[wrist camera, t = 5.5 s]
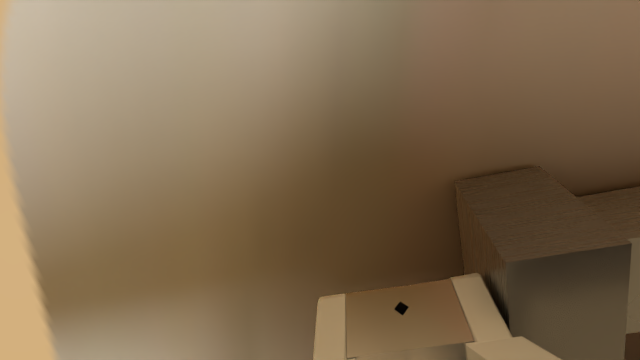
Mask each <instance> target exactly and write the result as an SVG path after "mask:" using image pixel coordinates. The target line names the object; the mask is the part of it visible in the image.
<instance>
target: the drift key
mask: <svg viewBox="0 0 640 360" xmlns="http://www.w3.org/2000/svg"><path fill="white" fill-rule="evenodd" d="M454 184H455V193H456V202H457V211H458V220H459V230H460V239H461V248H462V257H463V266H464V275H467V274H472V273H478V274H480V275H481V277H482V279H483V281H484V282H485V284H486V286H487V288H488V290H489V292H490V294H491V296H492V298H493V300H494V302H495V304H496V306H497V308H498V310H499V312H500V314H501V316H502V318H503V320H504V321H505V323H506V325H507V327H508V329H509V331H510V333H511V335H512V337H520V336H523V337H524V338H526V339H528V340H529V341H531V342H533V343H534V344H536V345H538V346H539V347H541V348H543V349H545V350H546V351H548V352H550V353H551V354H553V355H555V356H556V357H558V358H560V359H561V360H624V355H625V339H626V334H629V333H637V332H640V186H639V187H633V188H627V189H621V190H615V191H609V192H603V193H598V194H592V195H586V196H580V197H576V196H574V195H573V194H572V193H571V192H570V191H568V190H567V189H566V188H565V187H564V186H562V185H561V184H560V183H559V182H558V181H556V180H555V179H554V178H553V177H552V176H550V175H549V174H548V173H547V172H546V171H544V170H543V169H542V168H541V167H540V166H538V167H532V168H527V169H521V170H516V171H510V172H504V173H499V174H493V175H488V176H482V177H477V178H471V179H465V180H460V181H454Z"/></svg>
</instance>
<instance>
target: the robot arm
mask: <svg viewBox="0 0 640 360" xmlns="http://www.w3.org/2000/svg"><path fill="white" fill-rule="evenodd" d="M313 360H561V359H560V358H558V357H556V356H555V355H553V354H551V353H550V352H548V351H546V350H545V349H543V348H541V347H539V346H538V345H536V344H534V343H533V342H531V341H529V340H528V339H526V338H524V337H523V336H520V337H512V335H511V333H510V331H509V329H508V327H507V325H506V323H505V321H504V320H503V318H502V316H501V314H500V312H499V310H498V308H497V306H496V304H495V302H494V300H493V298H492V296H491V294H490V292H489V290H488V288H487V286H486V284H485V282H484V281H483V279H482V277H481V275H480V274H478V273H472V274H467V275H461V276H456V277H450V278H449V279H444V280H438V281H431V282H425V283H418V284H412V285H406V286H396V287H388V288H381V289H373V290H365V291H358V292H350V293H347V294H345V293H344V294H337V295H330V296H323V297H320V298H319V300H318V304H317V316H316V328H315V340H314V352H313Z"/></svg>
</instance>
